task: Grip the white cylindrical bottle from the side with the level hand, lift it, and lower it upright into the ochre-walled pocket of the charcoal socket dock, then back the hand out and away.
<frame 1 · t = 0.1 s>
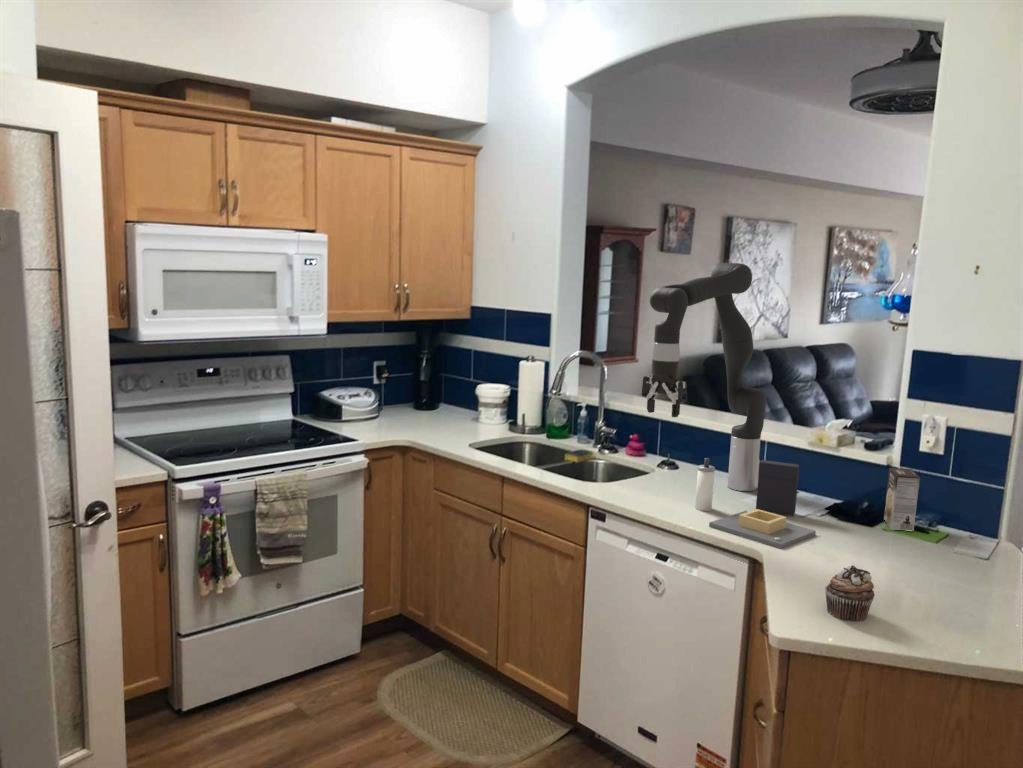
hand: (662, 414, 236), 29 cm above the worktop, tool pointing down, fingers open, 8 cm apart
white cylindrical bottle: (703, 508, 246), on the worktop
coffee box: (898, 527, 235), on the worktop
dark grey upright panel: (775, 512, 245), on the worktop
socket dock: (761, 530, 227), on the worktop
cupcake: (847, 614, 174), on the worktop
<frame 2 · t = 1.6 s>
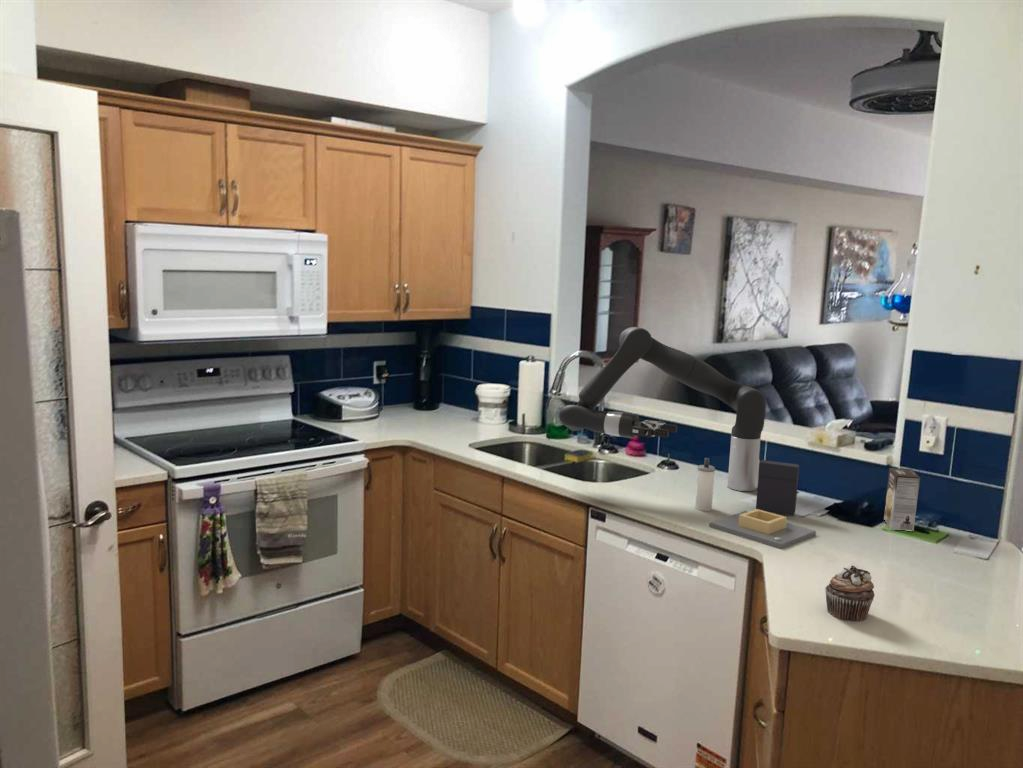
hand: (672, 431, 247), 22 cm above the worktop, tool horizontal, fingers open, 8 cm apart
nothing on the worktop moved.
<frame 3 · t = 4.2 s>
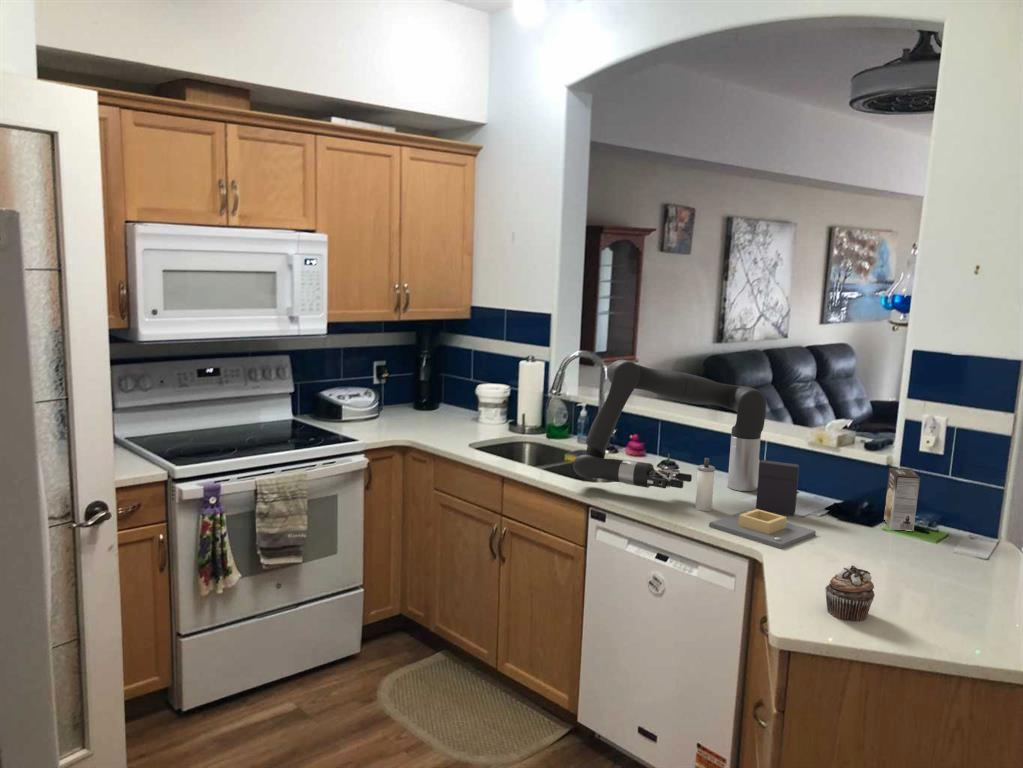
hand: (687, 481, 247), 7 cm above the worktop, tool horizontal, fingers open, 8 cm apart
nothing on the worktop moved.
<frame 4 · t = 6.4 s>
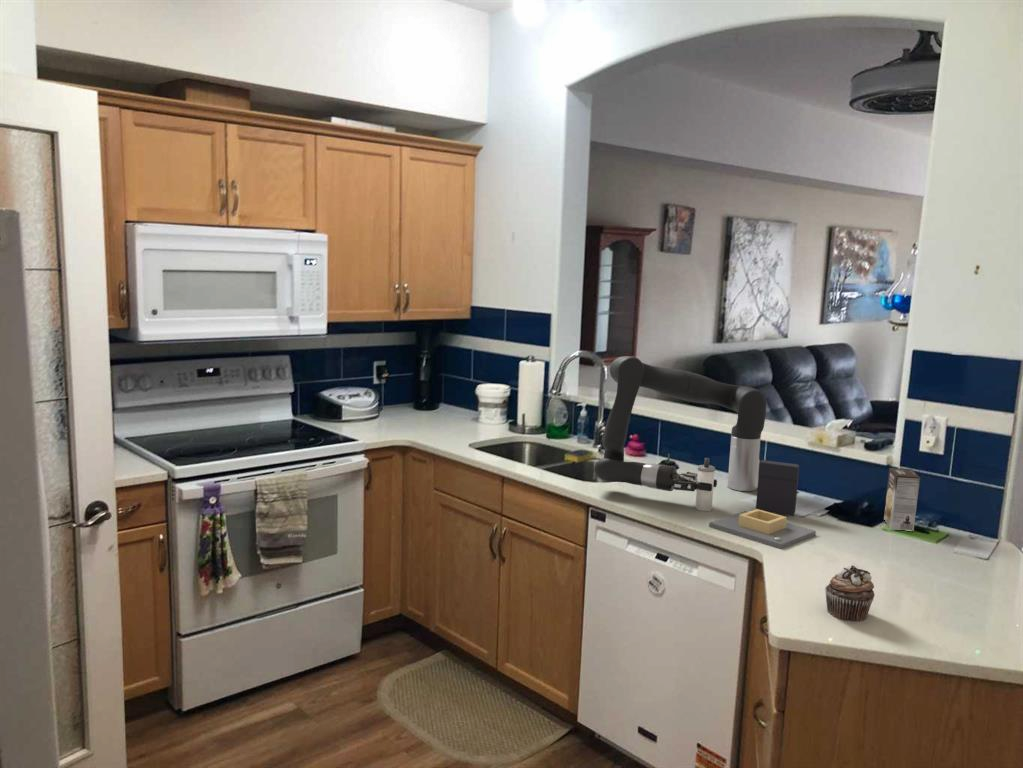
hand: (714, 485, 243), 8 cm above the worktop, tool horizontal, fingers closed on white cylindrical bottle, 4 cm apart
white cylindrical bottle: (703, 508, 246), on the worktop, touching gripper
everything else where it was.
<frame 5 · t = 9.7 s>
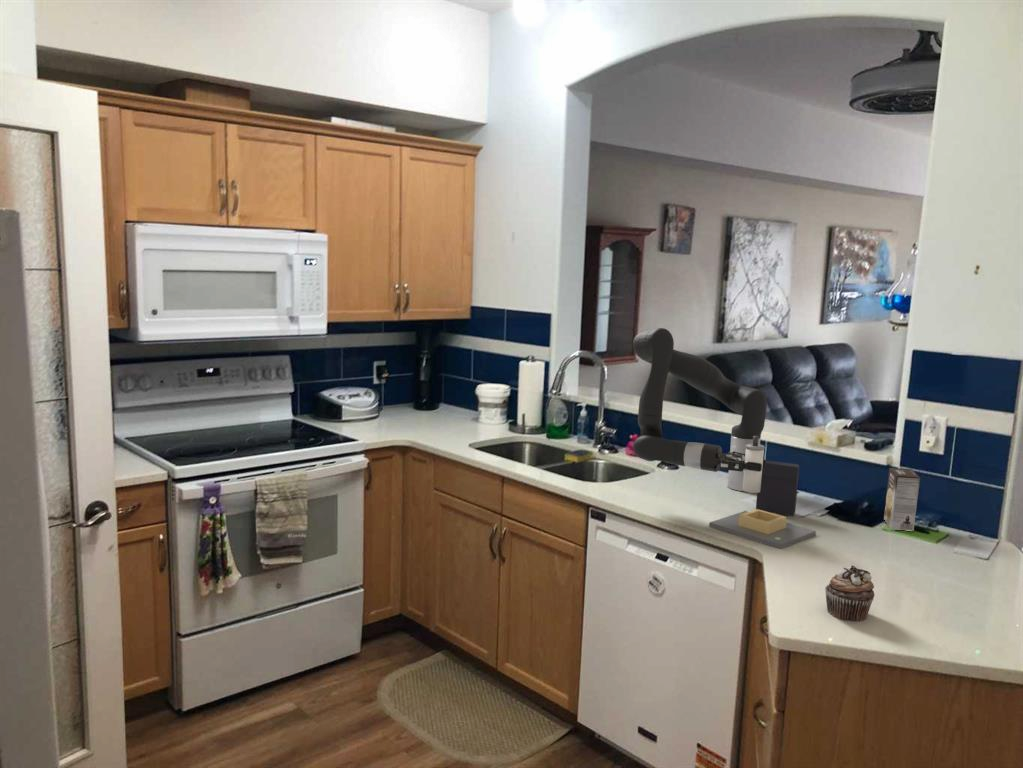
hand: (763, 465, 226), 18 cm above the worktop, tool horizontal, fingers closed on white cylindrical bottle, 4 cm apart
white cylindrical bottle: (751, 490, 229), point 10 cm above the worktop, touching gripper
everything else where it was.
when the fingers open (10 cm above the worktop, at t = 12.9 s): white cylindrical bottle drops 1 cm, resting on socket dock.
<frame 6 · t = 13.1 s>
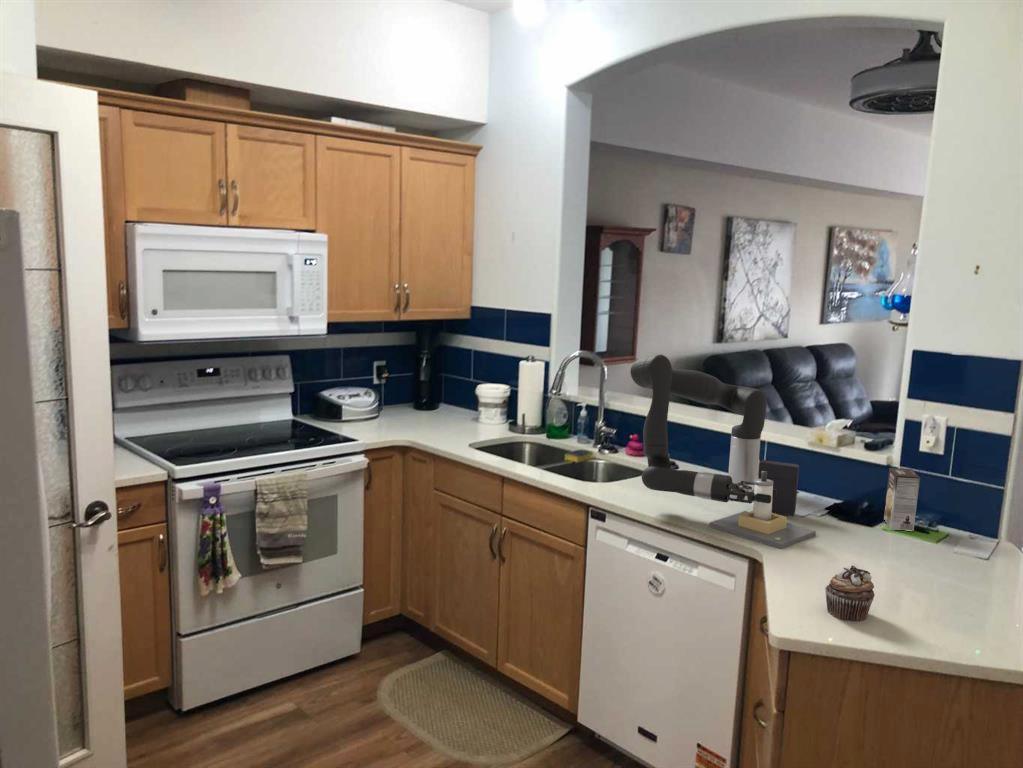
hand: (773, 496, 224), 10 cm above the worktop, tool horizontal, fingers open, 6 cm apart
white cylindrical bottle: (761, 526, 227), point 1 cm above the worktop, touching socket dock
everything else where it was.
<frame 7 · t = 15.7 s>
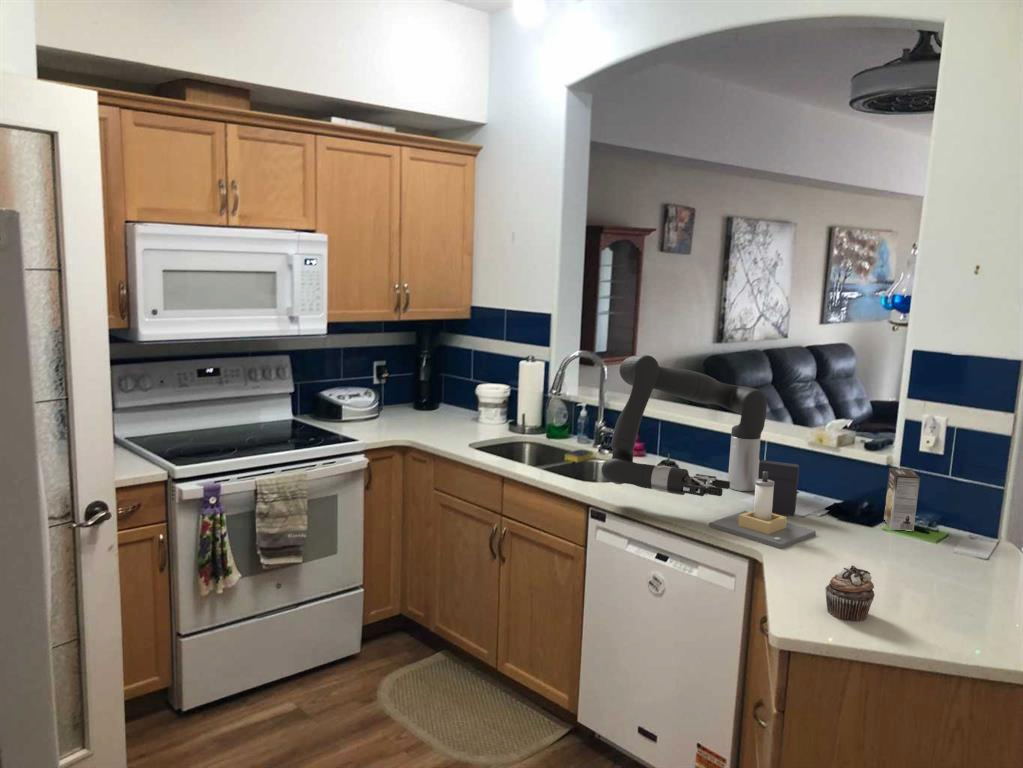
hand: (725, 488, 230), 10 cm above the worktop, tool horizontal, fingers open, 8 cm apart
nothing on the worktop moved.
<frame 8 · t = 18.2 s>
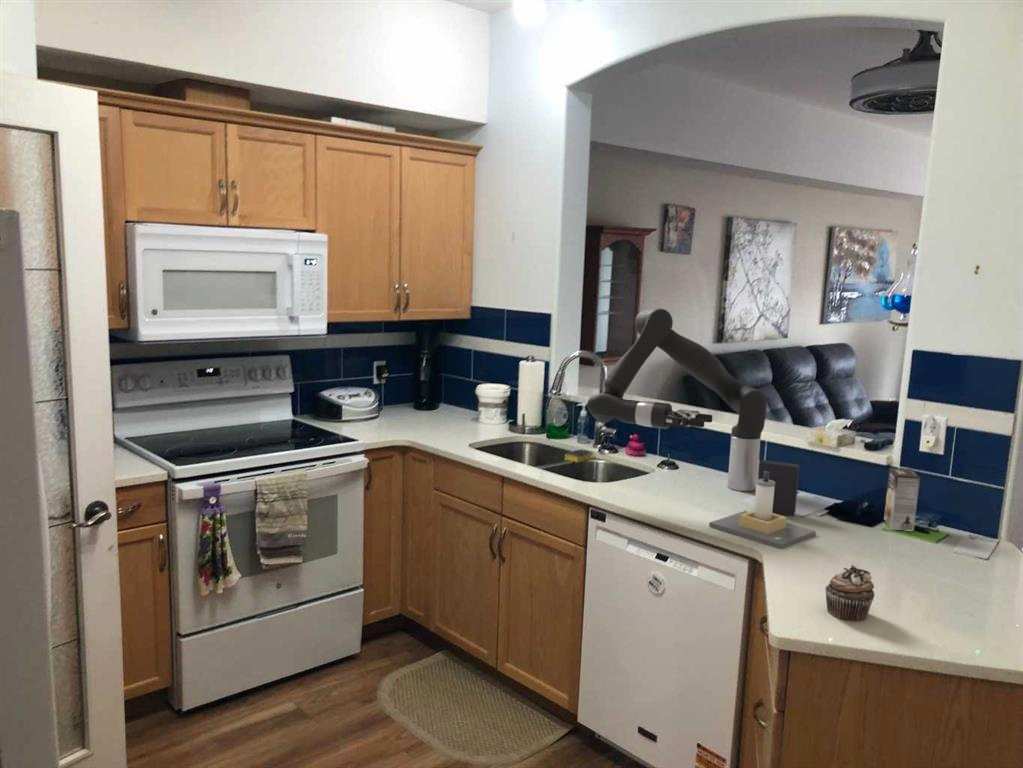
hand: (708, 421, 234), 28 cm above the worktop, tool horizontal, fingers open, 8 cm apart
nothing on the worktop moved.
at the end: white cylindrical bottle 0.1 cm off-centre on the socket dock, point 1.3 cm above the socket dock's base; white cylindrical bottle tilted 1°; the gripper is holding nothing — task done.
